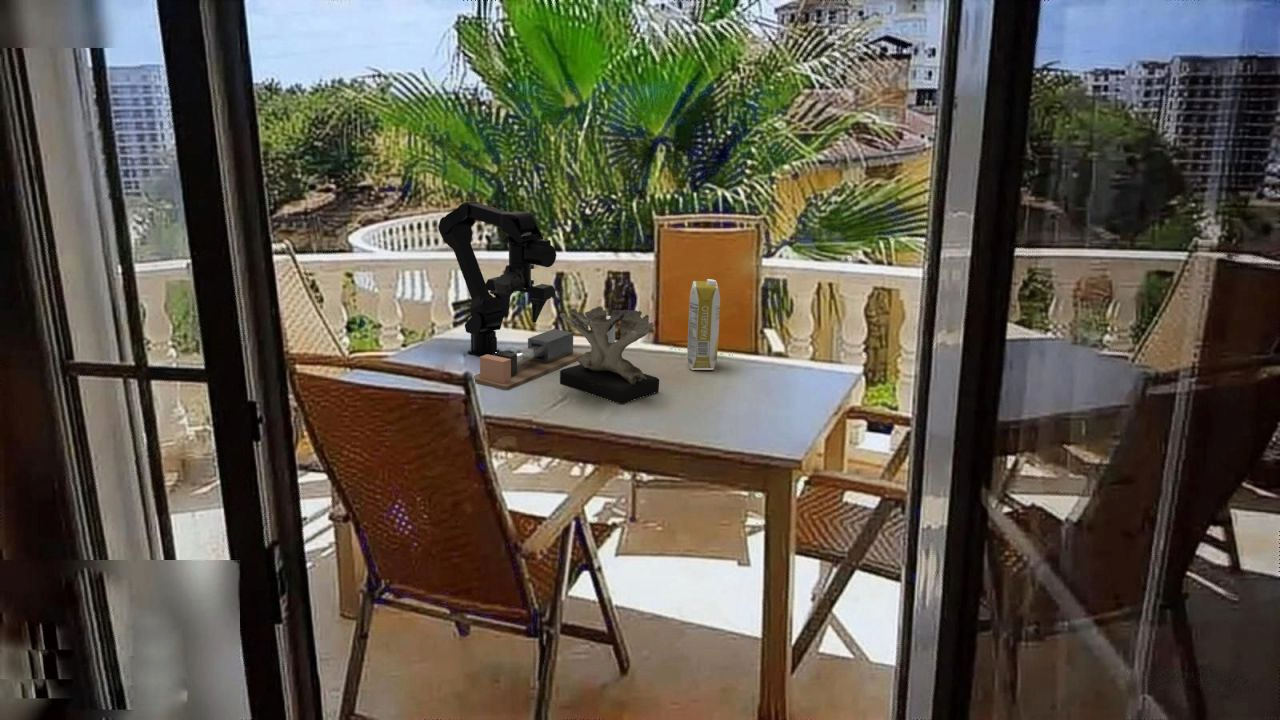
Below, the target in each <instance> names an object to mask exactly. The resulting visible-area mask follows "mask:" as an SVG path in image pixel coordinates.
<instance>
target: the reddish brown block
mask: <svg viewBox="0 0 1280 720" xmlns="http://www.w3.org/2000/svg"><path fill="white" fill-rule="evenodd" d="M479 374H480V378H483V379H487V380H491V381H496V382H500V383H506V382H508V381H510V380H511V359H507V358H503V357H498V356H494V354H492V355H489V354H486V355H484V356H479Z"/></svg>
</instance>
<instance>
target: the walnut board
mask: <svg viewBox="0 0 1280 720" xmlns="http://www.w3.org/2000/svg"><path fill="white" fill-rule="evenodd" d="M584 353H585V352H584ZM584 353H583V352H577V351H574V350H573V354H571V355H569V356H566V357H564V358H562V359H559V360H557V361H554V362H552V363H549V364H544V363H539V362H535V361H528V362H526V363H523V364H521V365H518V366H517V374H515V375H513V376H511V380H510V381H508V382H506V383H500V382H496V381H491V380H487V379H483V378H480V373H478V374H475V375H473V376H474V379H475V382H477V383H476V384H478V385H483V386H487V387H490V388H495V389H499V390H505V391H510V390H513V389H515V388H516V387H519V386H521V385H523V384H526V383H528V382H530V381H533V380H536V379H538V378H540V377H542V376H545V375H547V374H550V373H552V372H554V371H556V370H559V369H561V368H564V367H566V366H568V365H571V364H574V363H576V362H578V361H577V360H578V359H579V358H580V357H581V356H583V355H584Z"/></svg>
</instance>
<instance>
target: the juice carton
mask: <svg viewBox="0 0 1280 720" xmlns="http://www.w3.org/2000/svg"><path fill="white" fill-rule="evenodd" d="M689 293H690V294H689V302H688V305H689V306H688V307H689V309H688V325H687V326H688V327H687V328H688V329H687V346H686V347H687V348H686V349H687V361H688V367H689V370H690V369H692V368H714V367H716V363H717V360H718V351H719V350H718V347H719V329H720V313H721V310H720V309H721V296H720V294H721V293H720V289H719V285H718V282H717V280H715V279H712V278H711V279H710V278H708V279H706V280H693V281H692V285H691V287H690V292H689ZM714 369H715V368H714Z"/></svg>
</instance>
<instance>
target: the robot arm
mask: <svg viewBox="0 0 1280 720" xmlns="http://www.w3.org/2000/svg"><path fill="white" fill-rule="evenodd" d="M477 221H479V222H483V223H486V224H489V225H492V226H495V227H497V228H499V229H500V231H501V232H502V233H503V234H505V235H506V237H504V238H503V239H502V243H504V244H508V265H505V268H504V273H503V274H500V275H499V276H495V277H492V278H488V279H487V280H486V281H485V278H484V276H483V273H482V270H481V269H480V265H479V262H478V259H477V256H476V255H475V252H474V249H473V246H472V239H473V235H474V233H473V229H472V227H473V226H474V225H475V224H476V223H477ZM437 227H438V231H439V233H440V236H441V238H442V239H443V241H444V243H445V244H446V245H447V246H448V247H450V248H451V249H452V250H453V253H454V255H455V258H456V261H457V263H458V266H459V268H460V271H461V274H462V277H463V279H464V282H465V285H466V287H467V289H468V293H469V296H470V299H471V301H470V307H469V312H470V318H469V319H468V320H467V321H466V323H464V330H465V332H466V333H468V334H470V349H469V350H467V354H471V355H475V356H479V357H481V356H484V355H486V354H489V355H490V354H492V355H494V354H493V353H495V352H500V351H501V350H500V349H498V338H497V335H496V334H497V332H496V331H499V330H501V328H502V323H503V321H504V318H508V317H509V314H510V313H509V312H510V306H511V296H512V294H513V293H514V292H515V291H516V292H519V293H520V292H522V293H527V294H529V296H530V297H531V298H529V302H530V303H531V320H532V323H533V324H535V323H537V321H538V319H539V316H540V314H541V312H542V310H543V308H544V307H545V304H546V303H547V301H548V300H550V299H551V298H553V297H556V289H555V287H554V285H552V284H545V283H541V284H537V285H535V280H534V279H532V270H533V269H535V266H539V267H544V268H550V267H552V266H553V265H554V264H555V262H556V260H557V252H556V249H555V247H554V246H553V245H551V239H544V237H543V235H542V233H541V231H540V229H539V226H538V225H537V222H536V220H535V219H534V216H533V214H532V213H531V212H529V211H506V210H503V209H500V208H496V207H493V206H490V205H486V204H484V203H480V202H478V201H476V200H473V201H472V200H471V201H464V202H462V203H461V204H459V206H458V207H457V208H455V209H453V210H452V211H451V212H449V213H447V214H446V215H445V216H443V217H441V218H440V220H439V224H438V225H437Z"/></svg>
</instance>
